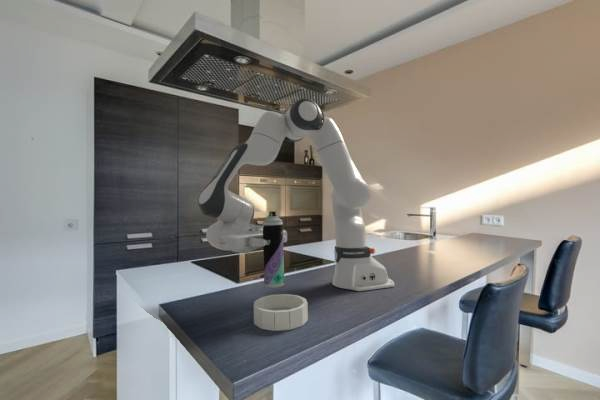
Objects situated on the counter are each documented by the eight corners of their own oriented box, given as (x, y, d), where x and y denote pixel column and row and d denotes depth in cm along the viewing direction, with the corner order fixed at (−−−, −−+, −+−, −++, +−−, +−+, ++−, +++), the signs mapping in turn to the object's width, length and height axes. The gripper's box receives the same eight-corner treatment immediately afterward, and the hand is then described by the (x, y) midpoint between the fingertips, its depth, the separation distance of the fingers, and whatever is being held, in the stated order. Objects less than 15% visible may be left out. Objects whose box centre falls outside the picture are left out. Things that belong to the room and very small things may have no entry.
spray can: (266, 288, 77) (264, 212, 77) (262, 283, 83) (260, 211, 83) (286, 286, 79) (284, 211, 79) (281, 281, 84) (279, 210, 84)
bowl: (303, 308, 87) (303, 292, 87) (310, 328, 73) (310, 309, 73) (255, 311, 85) (254, 295, 85) (253, 332, 71) (252, 313, 71)
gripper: (212, 230, 82) (244, 233, 72) (268, 224, 97) (299, 226, 88) (213, 253, 82) (245, 258, 72) (268, 244, 97) (300, 247, 88)
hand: (275, 241), depth 80 cm, fingers closed on spray can, 5 cm apart
